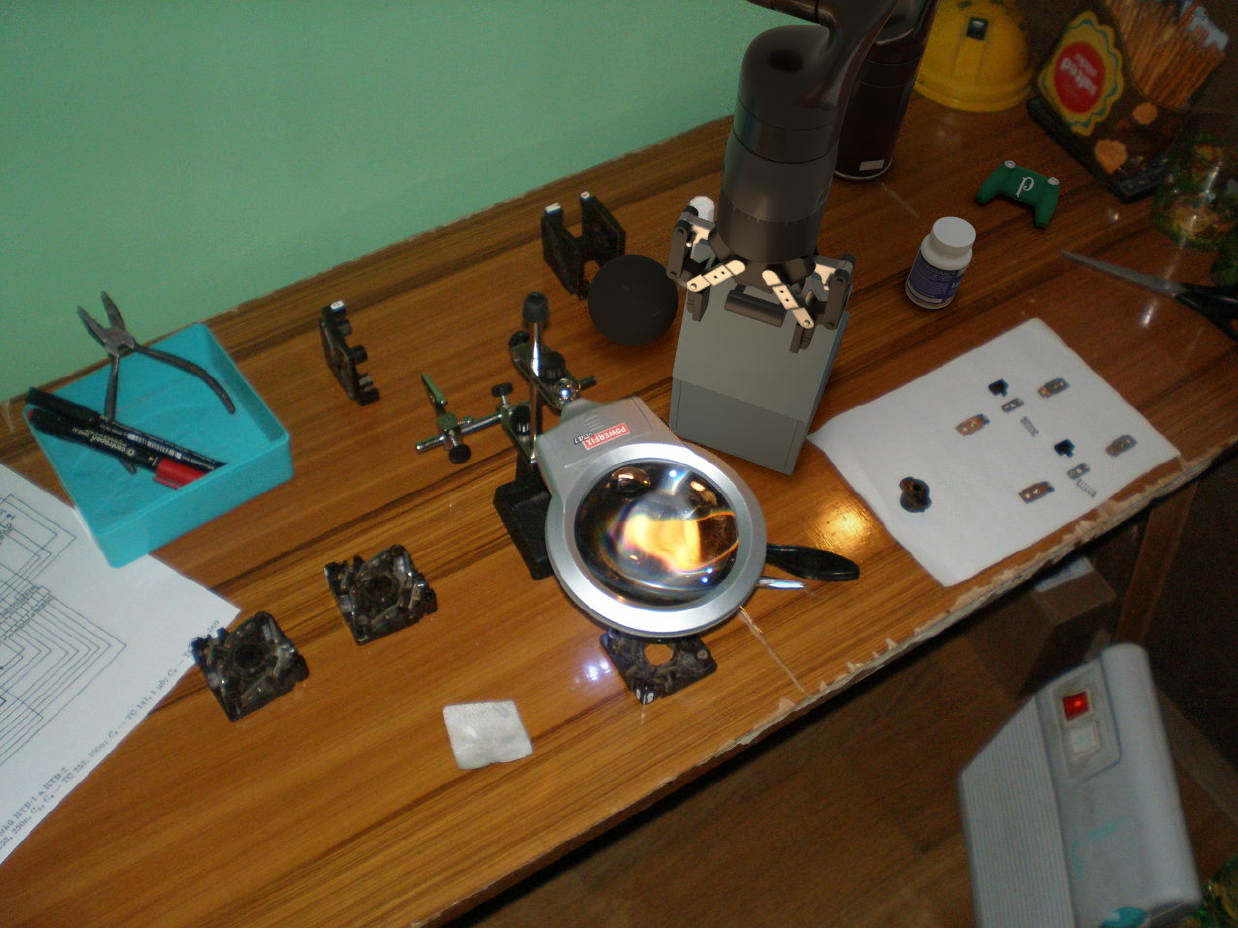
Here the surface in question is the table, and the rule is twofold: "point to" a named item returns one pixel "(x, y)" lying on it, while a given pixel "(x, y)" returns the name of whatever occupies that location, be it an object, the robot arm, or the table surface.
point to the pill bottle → (941, 263)
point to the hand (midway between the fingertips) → (747, 329)
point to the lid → (753, 348)
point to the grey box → (743, 422)
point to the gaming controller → (1022, 189)
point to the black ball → (632, 300)
